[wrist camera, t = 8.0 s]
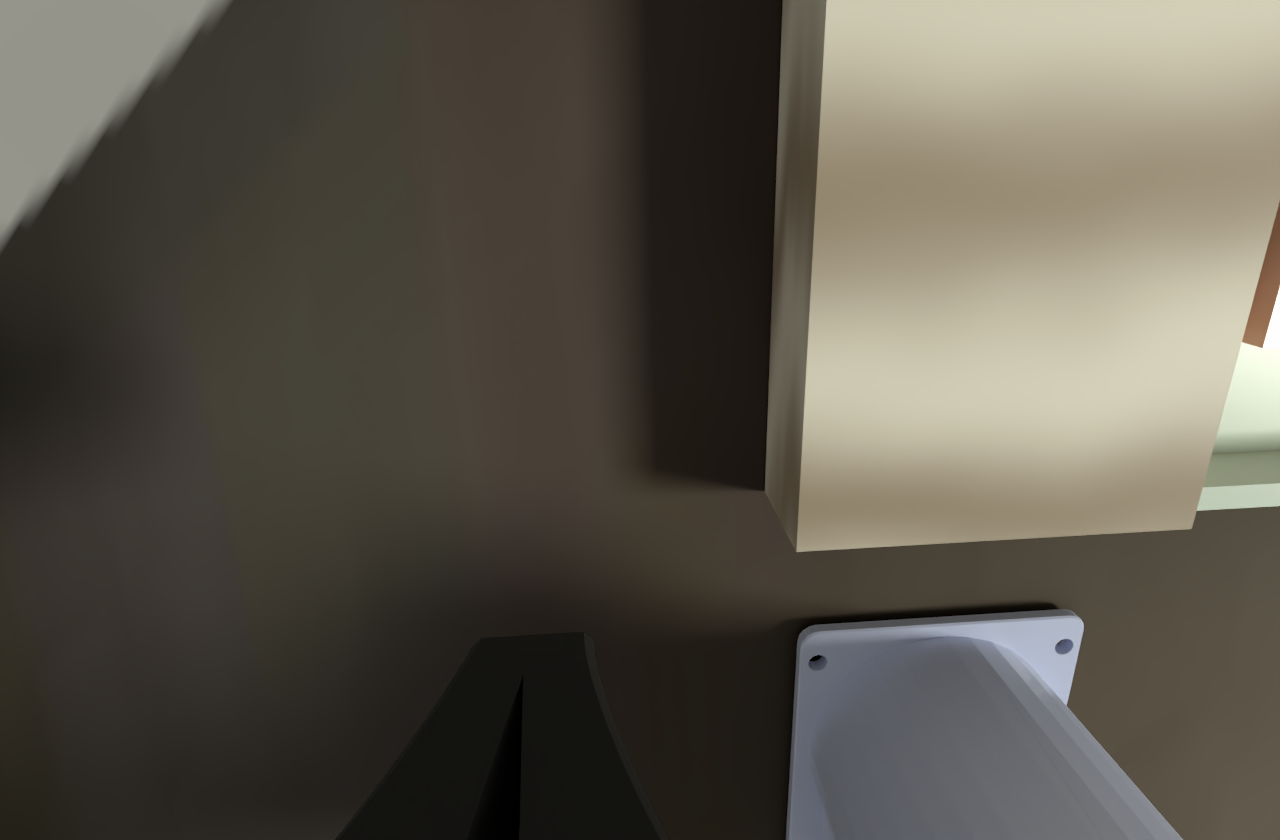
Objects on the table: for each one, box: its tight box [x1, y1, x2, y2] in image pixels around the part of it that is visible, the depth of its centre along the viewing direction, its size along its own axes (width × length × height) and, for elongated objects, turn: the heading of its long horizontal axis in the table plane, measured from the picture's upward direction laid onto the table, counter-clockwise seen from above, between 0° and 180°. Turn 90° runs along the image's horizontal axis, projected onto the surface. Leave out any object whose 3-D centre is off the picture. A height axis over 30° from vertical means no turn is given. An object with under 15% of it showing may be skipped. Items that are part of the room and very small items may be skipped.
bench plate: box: [765, 0, 1280, 552], centre depth 15 cm, size 14×9×3 cm, turn 1°
